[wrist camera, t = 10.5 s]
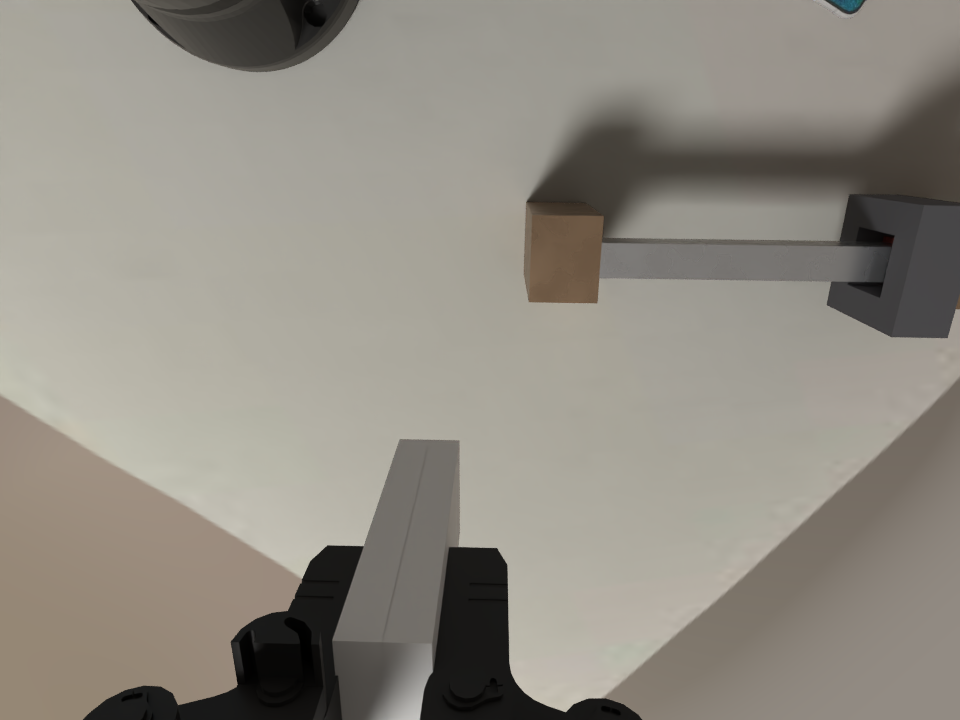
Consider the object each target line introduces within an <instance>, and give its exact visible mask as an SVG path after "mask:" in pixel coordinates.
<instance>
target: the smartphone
mask: <svg viewBox="0 0 960 720" xmlns="http://www.w3.org/2000/svg"><path fill="white" fill-rule="evenodd" d="M813 1H815V2H817V3H818V4H820V5H821V6H823V7H824V8H826V9H827V10H829V11H830V12H832V13H833V14H835V15H836V16H838V17H840V18H844V19H847V18H851V17H853V16H855V15H856V14H857V13H858V12H859V11H860V10H861V9H862V7H863V6H864V4H865V2H866V1H867V0H813Z"/></svg>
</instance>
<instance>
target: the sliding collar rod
mask: <svg viewBox="0 0 960 720" xmlns="http://www.w3.org/2000/svg"><path fill="white" fill-rule="evenodd" d="M603 221H604V216H603V215H602V214H600V213H599V212H597V211H596V210H595V209H593V208H592V207H590V206H589V205H588V204H586V203H568V202H526V224H525V254H524V278H525V284H526V289H527V294H528V300H529V302H552V303H597V301H598V287H599V278H635V279H702V280H768V281H835V282H883V283H884V279H885V275H886V271H887V266H888V262H889V258H890V254H891V249H892V245H893V241H894V237H895V236H884V238H883V242H866V241H791V240H717V239H642V238H602V235H603ZM956 309H960V295H959V299H958V302H957V306H956Z"/></svg>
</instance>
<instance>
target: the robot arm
mask: <svg viewBox="0 0 960 720" xmlns="http://www.w3.org/2000/svg"><path fill="white" fill-rule="evenodd" d="M131 1H132V2H133V3H134V5H135V6H136V7H137V8H138V10H139V11H140V12H141V13H142V14H143V16H144V17H145V18H146V19H147V20H148V21H149V22H150V23H151V24H152V25H153V26H154V27H155V28H156V29H157V30H158V31H159V32H160V33H161V34H163V35H164V36H165V37H166V38H168V39H169V40H170V41H172V42H173V43H174V44H176V45H177V46H179V47H181V48H182V49H184V50H185V51H187V52H189V53H191V54H192V55H194V56H197V57H199V58H201V59H203V60H206V61H208V62H211V63H214V64H218V65H221V66H225V67H228V68H232V69H237V70H242V71H249V72H268V71H276V70H281V69H285V68H289V67H292V66H295V65H297V64H300V63H302V62H304V61H306V60H308V59H309V58H311V57H313V56H314V55H316V54H317V53H319V52H320V51H321V50H323V49H324V48H325V47H326V46H327V45H328V44H329V43H330V42H331V41H332V40H333V39H334V38H335V37H336V36H337V35H338V34H339V32H340V31H341V30H342V28H343V27H344V26H345V24H346V23H347V21H348V19H349V18H350V16H351V14H352V12H353V10H354V8H355V6H356V4H357V2H358V0H131ZM459 534H460V482H459V441H455V440H409V439H400V440H399V443H398V446H397V449H396V452H395V455H394V458H393V461H392V464H391V467H390V470H389V473H388V476H387V479H386V482H385V485H384V488H383V491H382V494H381V497H380V500H379V503H378V506H377V509H376V512H375V515H374V518H373V521H372V524H371V527H370V530H369V533H368V535H367V538H366V541H365V544H364V546H329V545H327V546H326V547H325V548H324V549H323V550H322V551H321V552H320V553H319V554H318V555H317V556H316V557H314V558H313V559H312V560H311V561H310V563H309V565H308V568H307V570H306V572H305V574H304V576H303V579H302V583H301V584H300V585H299V588H298V590H297V592H296V594H295V599H293V601H292V603H291V605H290V608H289V610H288V611H284V612H276V613H271V614H268V615H265V616H263V617H260V618H257V619H255V620H254V621H252V622H251V623H249V624H248V625H246V626H245V627H243V628H242V629H241V630H240V631H239V632H238V634H237V635H236V636H235V637H234V639H233V640H232V641H231V647H232V653H233V659H234V665H235V671H236V677H237V683H238V685H237V687H236V688H234V689H232V690H230V691H229V692H226V693H223V694H220V695H217V696H215V697H211V698H206V699H202V700H198V701H194V702H190V703H186V704H182V705H178V704H177V702H176V700H175V698H174V696H173V694H172V693H171V692H169V691H167V690H165V689H164V688H162V687H157V686H141V687H137V688H133V689H128V690H125V691H123V692H121V693H119V694H117V695H115V696H113V697H111V698H109V699H107V700H105V701H104V702H103V703H101V704H100V705H99V706H98V707H97V708H95V709H94V710H93V711H91V712H90V713H89V714H88V715H87V716H86V717H85V718H84V719H83V720H642V719H641V718H640V716H639V715H638V714H636V713H635V712H633V711H632V710H631V709H629V708H628V707H626V706H625V705H624V704H621V703H618V702H615V701H612V700H609V699H586V700H583V701H581V702H578V703H576V704H573V706H572V707H571V708H570V709H569V710H568V711H567V712H563V711H560V710H557V709H554V708H551V707H549V706H546V705H544V704H542V703H539V702H537V701H535V700H533V699H532V698H531V697H529V696H528V695H527V694H525V693H524V692H523V691H522V690H521V689H520V687H519V686H518V685H517V684H516V682H515V680H514V678H513V676H512V674H511V671H510V665H509V628H508V573H507V564H506V562H505V560H504V559H503V557H502V556H501V554H500V552H499V551H498V549H497V548H468V547H458V544H459Z"/></svg>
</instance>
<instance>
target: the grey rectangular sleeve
mask: <svg viewBox="0 0 960 720" xmlns="http://www.w3.org/2000/svg"><path fill="white" fill-rule="evenodd" d="M884 236H895V237H894V241H893V245H892V249H891V254H890V258H889V262H888V266H887V271H886V275H885V279H884V283H883V282H835V281H832V282H831V286H830V291H829V296H828V301H827V305H828V306H830V307H832V308H834V309H836V310H838V311H840V312H842V313H844V314H846V315H848V316H850V317H852V318H854V319H856V320H858V321H860V322H862V323H864V324H866V325H868V326H870V327H872V328H874V329H876V330H878V331H880V332H882V333H884V334H886V335H888V336H890V337H916V338H948V334H949V331H950V327H951V324H952V320H953V317H954V313H955V309H956V306H957V302H958V299H959V295H960V203H957V202H949V201H942V200H934V199H926V198H919V197H911V196H904V195H863V194H849V199H848V204H847V209H846V214H845V219H844V223H843V228H842V233H841V238H840V241H866V242H883V238H884Z"/></svg>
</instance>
